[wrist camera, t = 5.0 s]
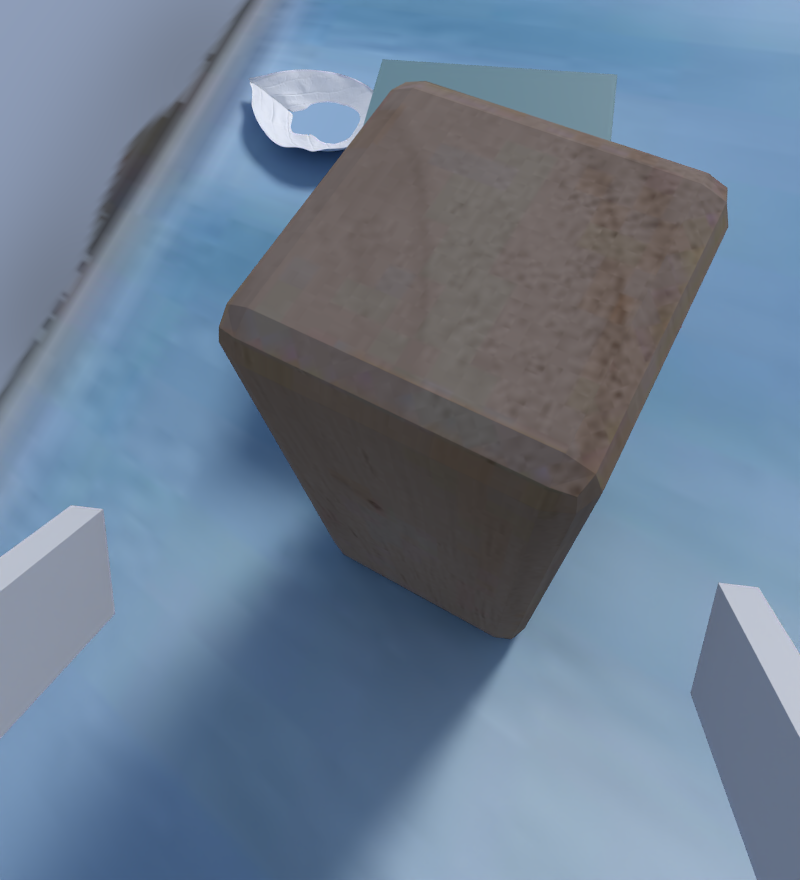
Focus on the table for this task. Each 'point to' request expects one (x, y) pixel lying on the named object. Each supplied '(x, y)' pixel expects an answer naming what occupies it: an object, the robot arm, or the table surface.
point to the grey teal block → (515, 91)
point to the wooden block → (470, 338)
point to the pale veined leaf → (304, 103)
